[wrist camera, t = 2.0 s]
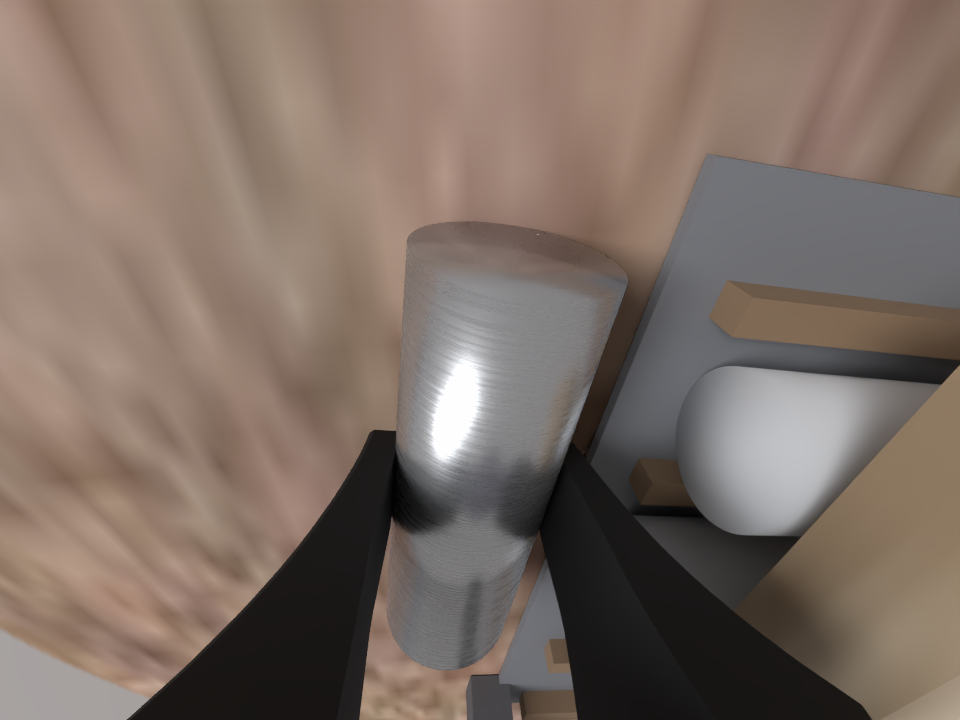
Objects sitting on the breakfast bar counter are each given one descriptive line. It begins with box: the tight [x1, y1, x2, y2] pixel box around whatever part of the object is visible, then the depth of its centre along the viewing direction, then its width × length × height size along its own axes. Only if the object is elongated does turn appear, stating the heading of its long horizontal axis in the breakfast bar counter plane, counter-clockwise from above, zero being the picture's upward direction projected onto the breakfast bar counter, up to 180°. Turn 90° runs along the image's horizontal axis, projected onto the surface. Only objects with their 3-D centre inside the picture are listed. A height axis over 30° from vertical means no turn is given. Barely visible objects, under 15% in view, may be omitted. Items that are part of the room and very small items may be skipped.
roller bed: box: [466, 154, 960, 720], centre depth 15 cm, size 19×28×6 cm
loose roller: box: [386, 222, 628, 670], centre depth 11 cm, size 12×4×4 cm, turn 172°
